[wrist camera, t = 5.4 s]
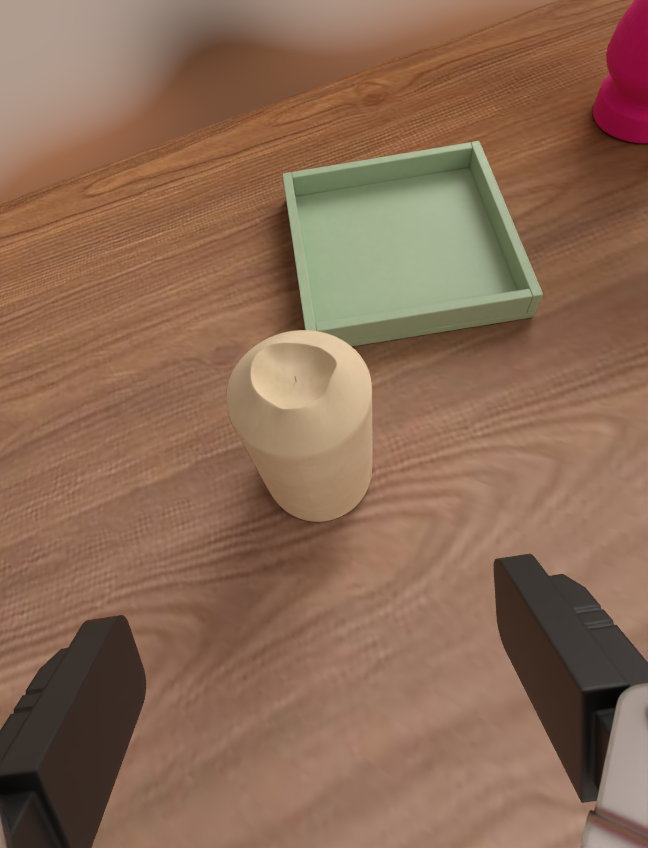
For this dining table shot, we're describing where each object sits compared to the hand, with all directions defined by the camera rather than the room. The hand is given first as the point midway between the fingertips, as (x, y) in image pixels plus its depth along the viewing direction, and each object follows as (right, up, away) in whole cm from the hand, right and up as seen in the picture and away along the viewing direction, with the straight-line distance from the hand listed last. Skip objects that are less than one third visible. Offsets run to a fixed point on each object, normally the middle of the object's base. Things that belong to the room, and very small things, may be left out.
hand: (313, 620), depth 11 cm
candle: (0, +2, +16) cm, 16 cm away
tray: (+5, +15, +22) cm, 27 cm away
